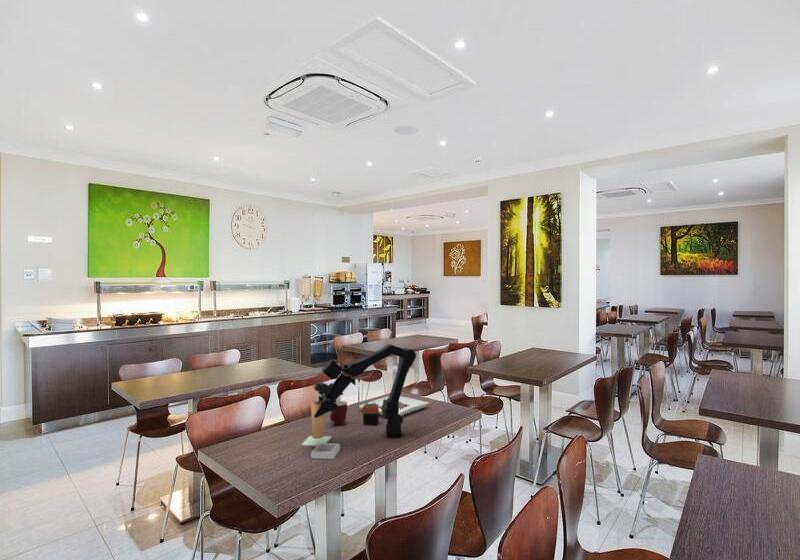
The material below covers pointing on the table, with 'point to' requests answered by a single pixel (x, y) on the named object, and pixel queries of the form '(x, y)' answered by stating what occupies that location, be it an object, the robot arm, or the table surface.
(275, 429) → the table surface
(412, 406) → the square plate
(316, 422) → the plug
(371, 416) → the battery
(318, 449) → the frame
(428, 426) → the table surface
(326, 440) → the mat
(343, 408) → the mug
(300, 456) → the table surface
